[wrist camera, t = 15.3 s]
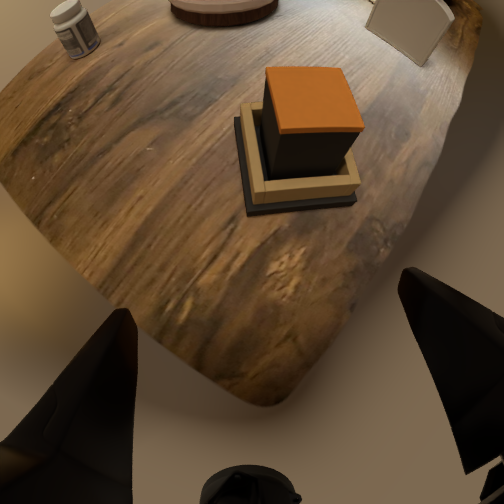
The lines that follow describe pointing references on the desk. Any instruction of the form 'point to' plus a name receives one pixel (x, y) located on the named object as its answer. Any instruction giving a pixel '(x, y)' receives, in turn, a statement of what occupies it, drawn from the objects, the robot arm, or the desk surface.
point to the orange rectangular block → (307, 121)
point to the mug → (222, 11)
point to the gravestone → (411, 25)
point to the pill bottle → (75, 28)
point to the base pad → (287, 190)
